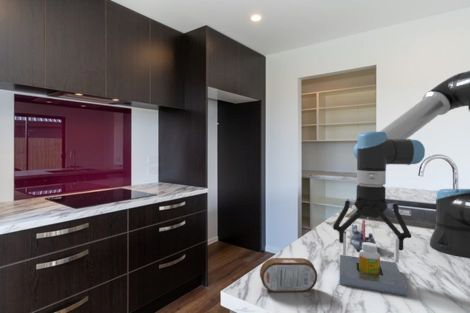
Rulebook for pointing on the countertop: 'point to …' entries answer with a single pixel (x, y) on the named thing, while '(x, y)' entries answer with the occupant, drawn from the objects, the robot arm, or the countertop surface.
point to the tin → (288, 275)
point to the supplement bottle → (369, 259)
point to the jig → (372, 277)
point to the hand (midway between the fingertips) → (369, 257)
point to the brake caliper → (359, 237)
